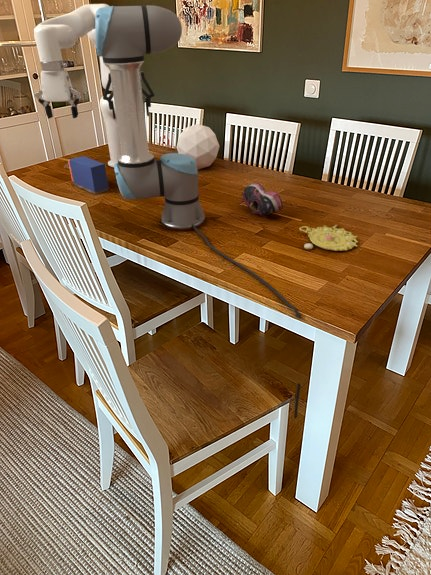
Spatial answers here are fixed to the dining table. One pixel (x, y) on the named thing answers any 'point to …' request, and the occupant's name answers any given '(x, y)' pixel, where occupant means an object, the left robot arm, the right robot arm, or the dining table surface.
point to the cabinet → (89, 174)
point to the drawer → (69, 168)
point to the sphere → (198, 145)
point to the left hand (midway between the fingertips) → (62, 117)
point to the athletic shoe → (261, 200)
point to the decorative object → (330, 238)
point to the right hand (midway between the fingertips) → (131, 116)
